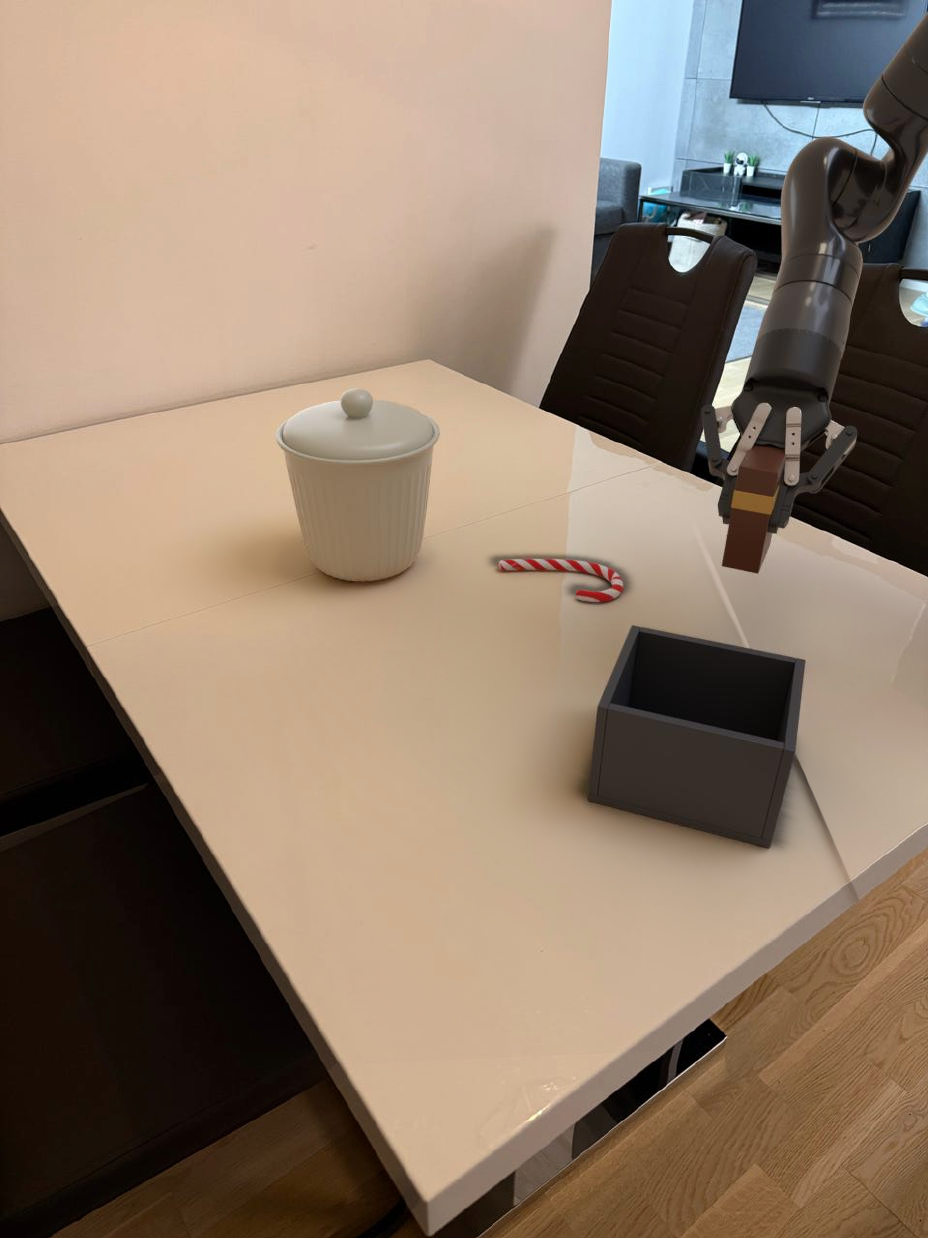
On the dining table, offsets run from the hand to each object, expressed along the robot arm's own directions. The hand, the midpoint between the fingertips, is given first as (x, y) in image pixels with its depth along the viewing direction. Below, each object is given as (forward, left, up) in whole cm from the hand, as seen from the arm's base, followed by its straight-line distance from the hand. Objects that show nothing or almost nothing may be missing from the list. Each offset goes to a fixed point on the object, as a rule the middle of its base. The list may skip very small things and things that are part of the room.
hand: (749, 524), depth 79 cm
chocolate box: (-1, -2, -4) cm, 4 cm away
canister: (+37, -25, -18) cm, 48 cm away
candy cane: (+14, -21, -18) cm, 31 cm away
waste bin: (+5, +12, -18) cm, 22 cm away
